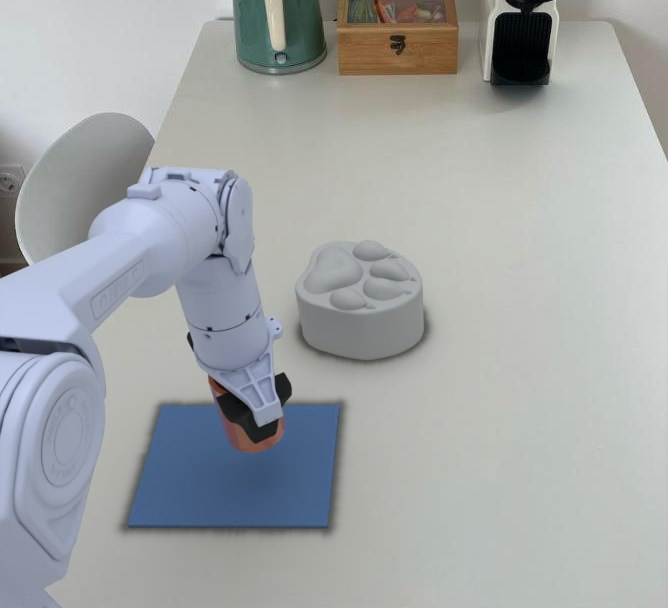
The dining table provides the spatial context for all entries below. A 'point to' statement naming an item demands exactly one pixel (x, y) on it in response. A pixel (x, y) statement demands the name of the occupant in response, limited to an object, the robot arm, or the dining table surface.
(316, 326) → the lumpy-topped squat cylinder
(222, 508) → the towel
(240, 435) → the cup
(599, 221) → the dining table surface
